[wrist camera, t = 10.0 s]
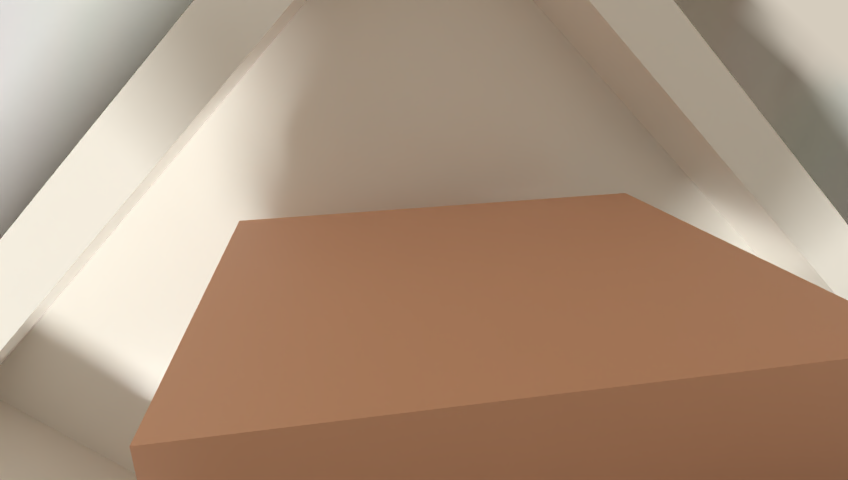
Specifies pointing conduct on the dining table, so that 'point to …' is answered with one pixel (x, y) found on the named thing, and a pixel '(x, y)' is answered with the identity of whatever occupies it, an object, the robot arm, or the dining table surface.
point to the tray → (359, 173)
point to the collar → (501, 353)
